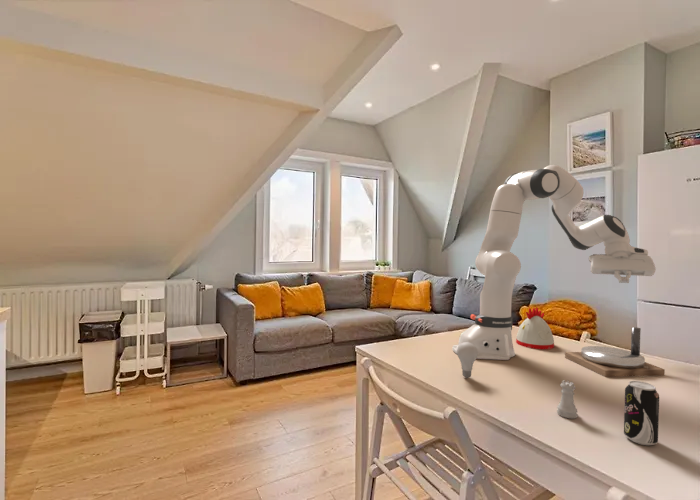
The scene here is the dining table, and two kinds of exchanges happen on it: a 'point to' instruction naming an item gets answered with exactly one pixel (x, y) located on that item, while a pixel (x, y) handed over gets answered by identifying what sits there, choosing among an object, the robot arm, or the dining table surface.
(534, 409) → the dining table surface
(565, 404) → the rook chess piece
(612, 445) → the dining table surface
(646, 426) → the beverage can
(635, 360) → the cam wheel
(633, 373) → the stand
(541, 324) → the kitchen timer
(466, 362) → the lightbulb
